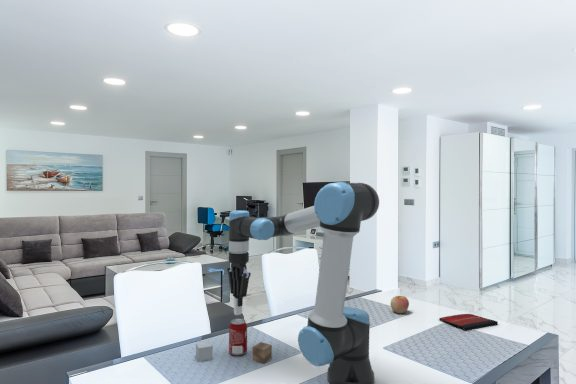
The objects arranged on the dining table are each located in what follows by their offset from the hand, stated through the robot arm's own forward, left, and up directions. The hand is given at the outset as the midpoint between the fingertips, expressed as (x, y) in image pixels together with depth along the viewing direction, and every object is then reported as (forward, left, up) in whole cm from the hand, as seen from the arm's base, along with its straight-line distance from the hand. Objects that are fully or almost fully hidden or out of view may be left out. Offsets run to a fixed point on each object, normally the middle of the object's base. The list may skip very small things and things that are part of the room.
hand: (238, 314), depth 146 cm
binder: (-38, -102, -15) cm, 110 cm away
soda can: (0, 0, -15) cm, 15 cm away
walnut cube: (-10, -4, -15) cm, 18 cm away
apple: (-10, -89, -15) cm, 91 cm away
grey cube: (+4, +12, -15) cm, 19 cm away
